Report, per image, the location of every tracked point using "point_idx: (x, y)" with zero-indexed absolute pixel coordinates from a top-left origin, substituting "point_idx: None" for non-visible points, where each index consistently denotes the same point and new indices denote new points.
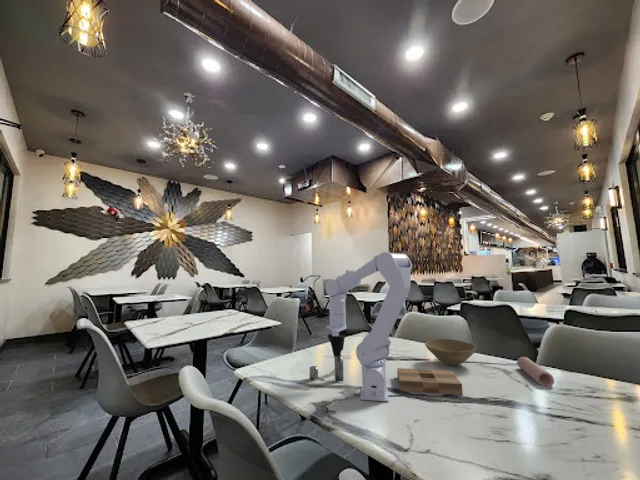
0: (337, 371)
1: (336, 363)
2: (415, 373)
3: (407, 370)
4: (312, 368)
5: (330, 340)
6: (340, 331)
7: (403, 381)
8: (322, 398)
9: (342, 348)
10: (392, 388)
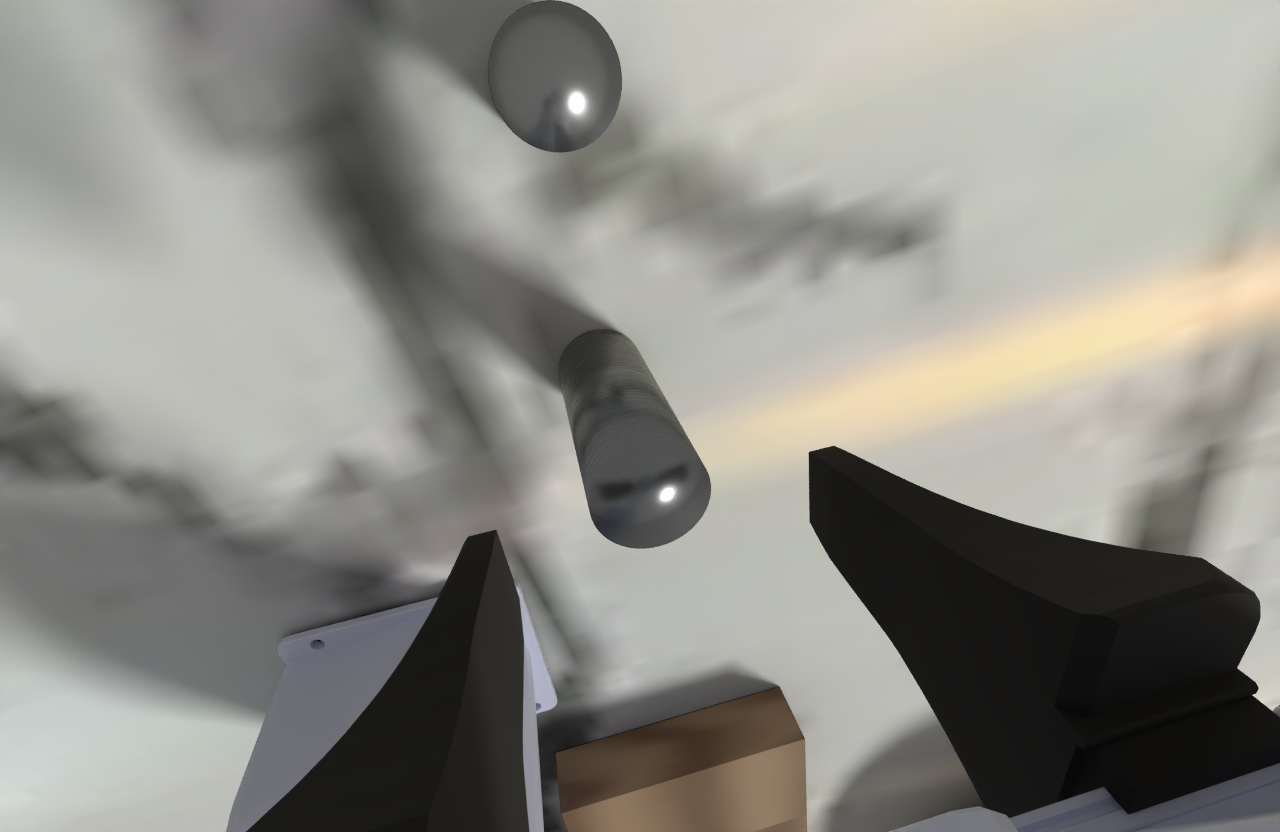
0: (570, 413)
1: (579, 449)
2: (724, 829)
3: (770, 789)
4: (500, 80)
5: (304, 799)
6: (1036, 773)
7: (566, 822)
8: (108, 380)
9: (825, 540)
10: (580, 712)
